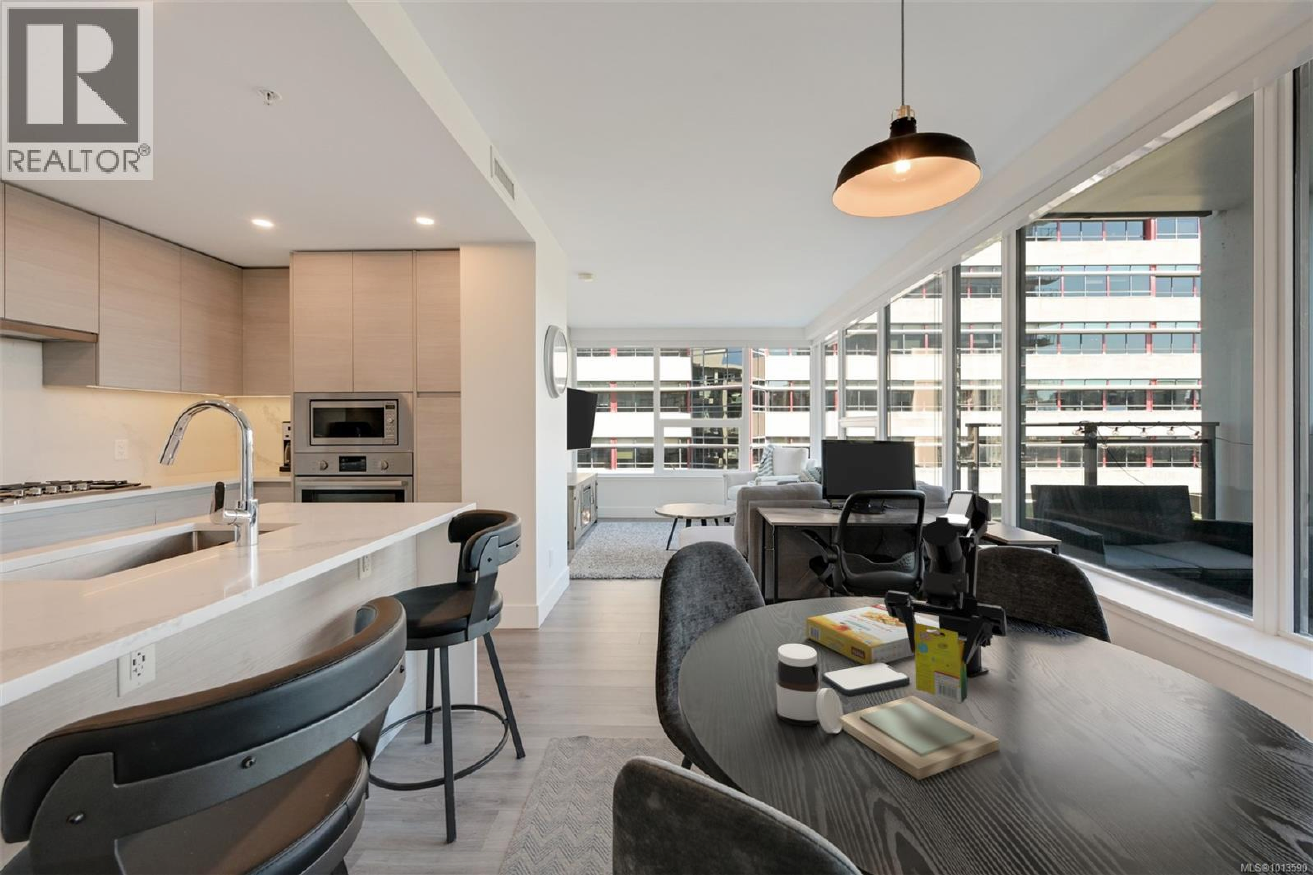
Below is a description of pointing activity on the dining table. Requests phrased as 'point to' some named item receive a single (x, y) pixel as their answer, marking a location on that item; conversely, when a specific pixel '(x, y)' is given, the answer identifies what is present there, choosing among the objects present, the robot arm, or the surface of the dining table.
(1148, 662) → the dining table surface
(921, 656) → the crayon box
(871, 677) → the smartphone
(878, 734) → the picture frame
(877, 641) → the cereal box
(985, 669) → the robot arm
